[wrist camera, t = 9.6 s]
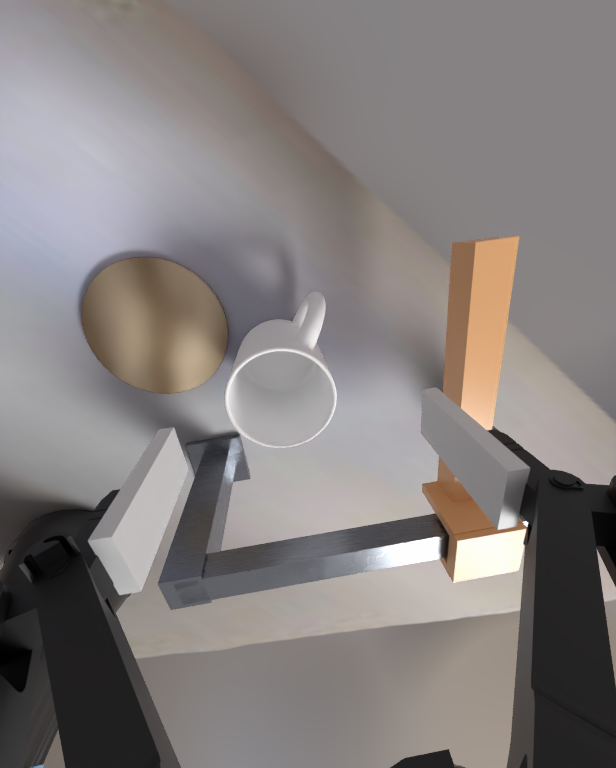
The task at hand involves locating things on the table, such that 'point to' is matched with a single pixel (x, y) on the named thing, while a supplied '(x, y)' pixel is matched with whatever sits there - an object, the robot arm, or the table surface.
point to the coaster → (155, 325)
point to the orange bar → (475, 400)
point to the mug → (282, 380)
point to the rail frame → (276, 559)
